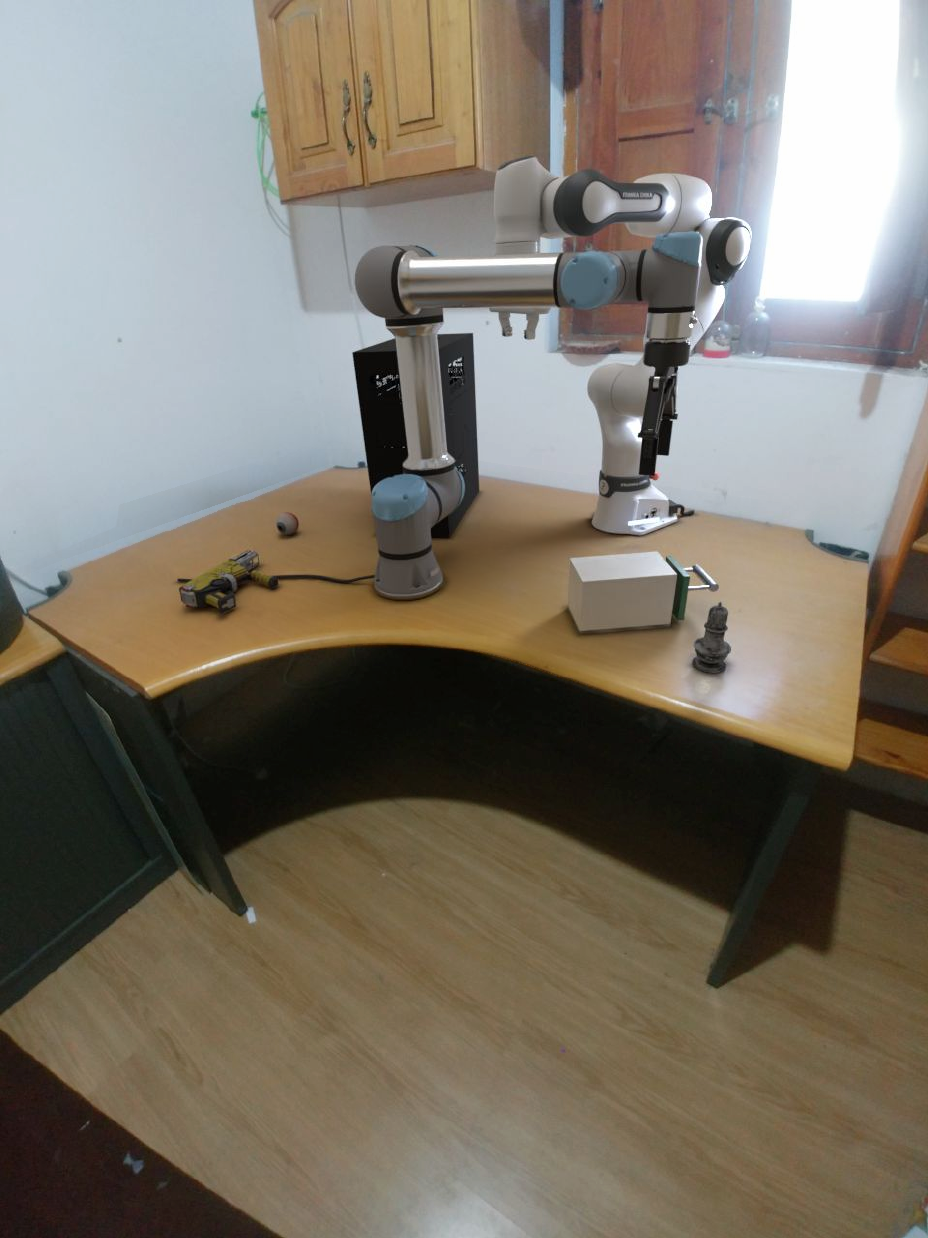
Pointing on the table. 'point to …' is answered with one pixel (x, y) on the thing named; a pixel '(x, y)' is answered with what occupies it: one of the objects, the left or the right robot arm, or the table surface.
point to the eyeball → (287, 523)
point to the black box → (387, 415)
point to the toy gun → (223, 583)
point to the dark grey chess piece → (713, 642)
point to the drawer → (687, 585)
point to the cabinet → (620, 592)
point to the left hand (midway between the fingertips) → (654, 464)
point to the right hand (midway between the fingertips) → (518, 337)
